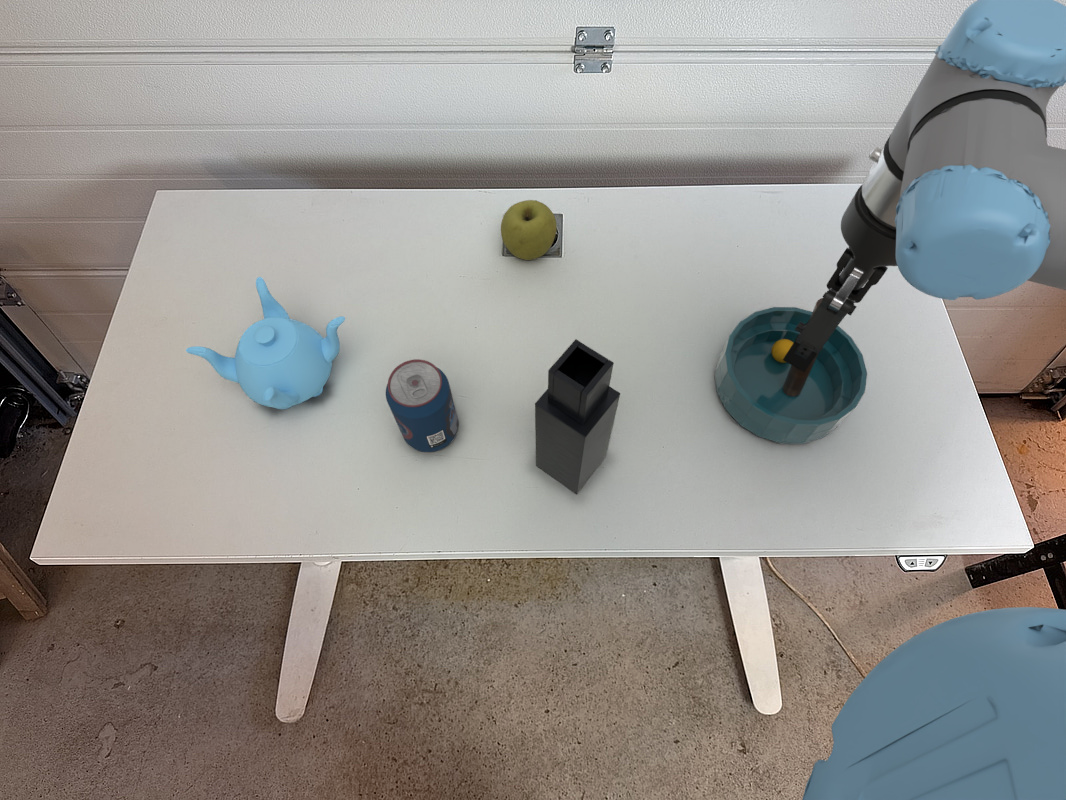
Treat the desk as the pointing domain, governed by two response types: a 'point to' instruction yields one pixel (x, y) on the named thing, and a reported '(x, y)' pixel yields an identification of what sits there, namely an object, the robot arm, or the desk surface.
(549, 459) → the holder
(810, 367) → the stick
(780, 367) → the bowl
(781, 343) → the ball
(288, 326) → the teapot
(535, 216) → the apple
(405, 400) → the soda can
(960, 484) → the desk surface
